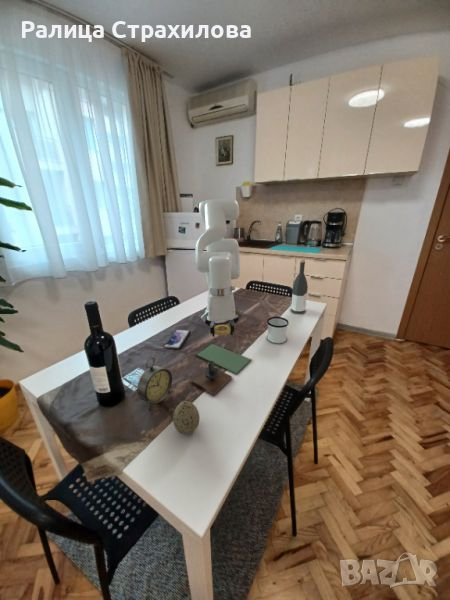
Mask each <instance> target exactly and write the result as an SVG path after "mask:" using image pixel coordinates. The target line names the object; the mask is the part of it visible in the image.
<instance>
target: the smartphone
mask: <svg viewBox="0 0 450 600" xmlns="http://www.w3.org/2000/svg"><path fill="white" fill-rule="evenodd" d="M189 333H190V330H188V329H187V330H185V329H176V330H175V331H174V332H173V334H172V335H171V336H170V338H169V339H168V340H167V342H166V343H165V344H164V348H165V349H180V348H181V346H182V345H183V343H184V341H185V340H186V339H187V337H188V335H189Z"/></svg>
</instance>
